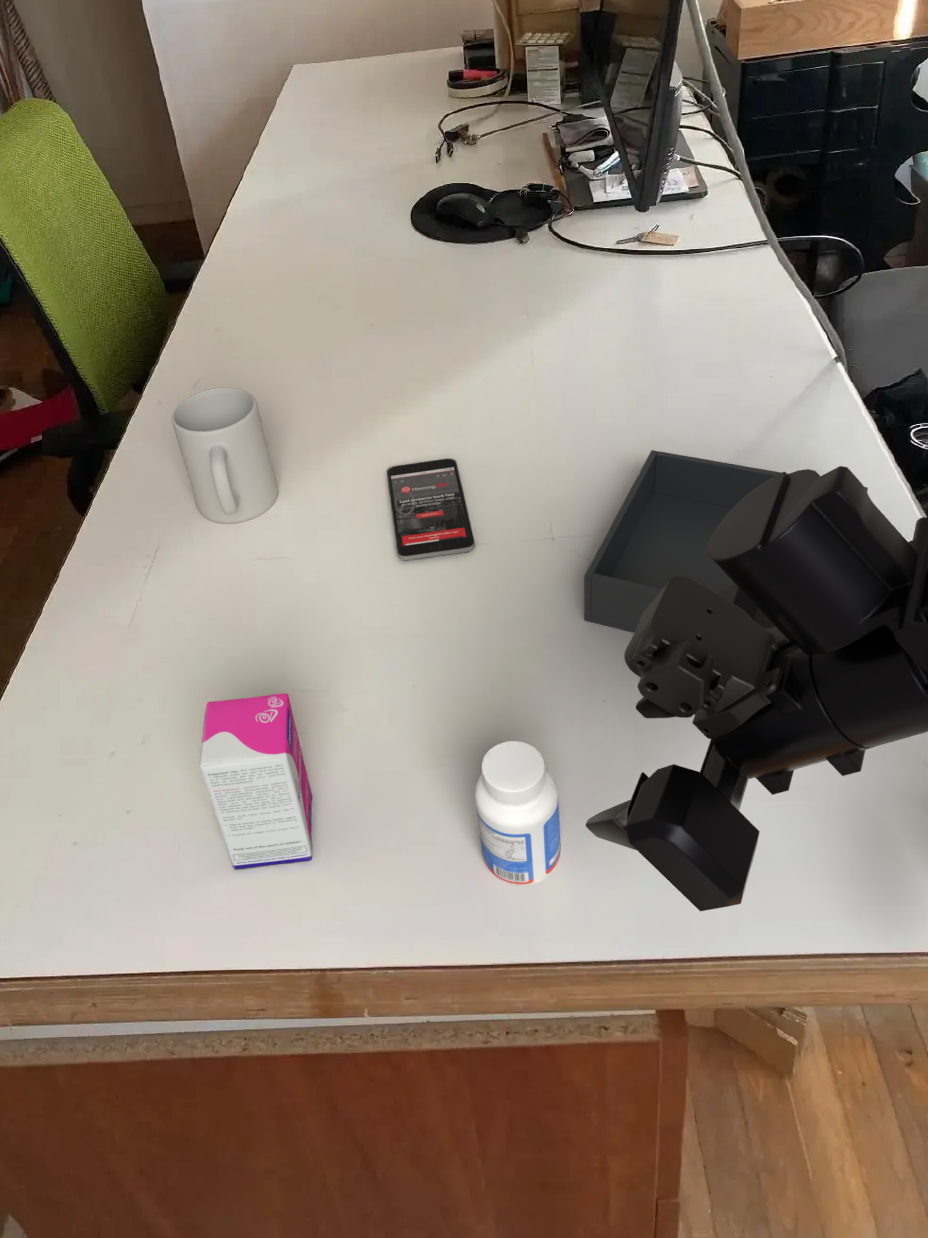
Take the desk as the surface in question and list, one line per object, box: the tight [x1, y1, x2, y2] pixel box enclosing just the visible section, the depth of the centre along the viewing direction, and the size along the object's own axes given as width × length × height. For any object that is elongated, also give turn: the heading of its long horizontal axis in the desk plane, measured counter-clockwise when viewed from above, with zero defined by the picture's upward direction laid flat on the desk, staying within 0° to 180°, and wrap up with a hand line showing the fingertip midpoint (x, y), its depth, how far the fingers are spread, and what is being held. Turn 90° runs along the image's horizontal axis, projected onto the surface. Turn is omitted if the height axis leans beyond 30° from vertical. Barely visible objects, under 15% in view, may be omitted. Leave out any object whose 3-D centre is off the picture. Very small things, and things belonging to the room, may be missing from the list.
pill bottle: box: [474, 740, 562, 887], centre depth 67 cm, size 6×5×10 cm
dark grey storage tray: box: [583, 449, 869, 634], centre depth 88 cm, size 19×19×5 cm
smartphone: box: [386, 457, 476, 561], centre depth 101 cm, size 7×1×15 cm
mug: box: [171, 387, 279, 525], centre depth 101 cm, size 12×8×11 cm
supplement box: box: [199, 692, 313, 871], centre depth 70 cm, size 6×6×12 cm
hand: (617, 767), depth 60 cm, fingers open, 9 cm apart
